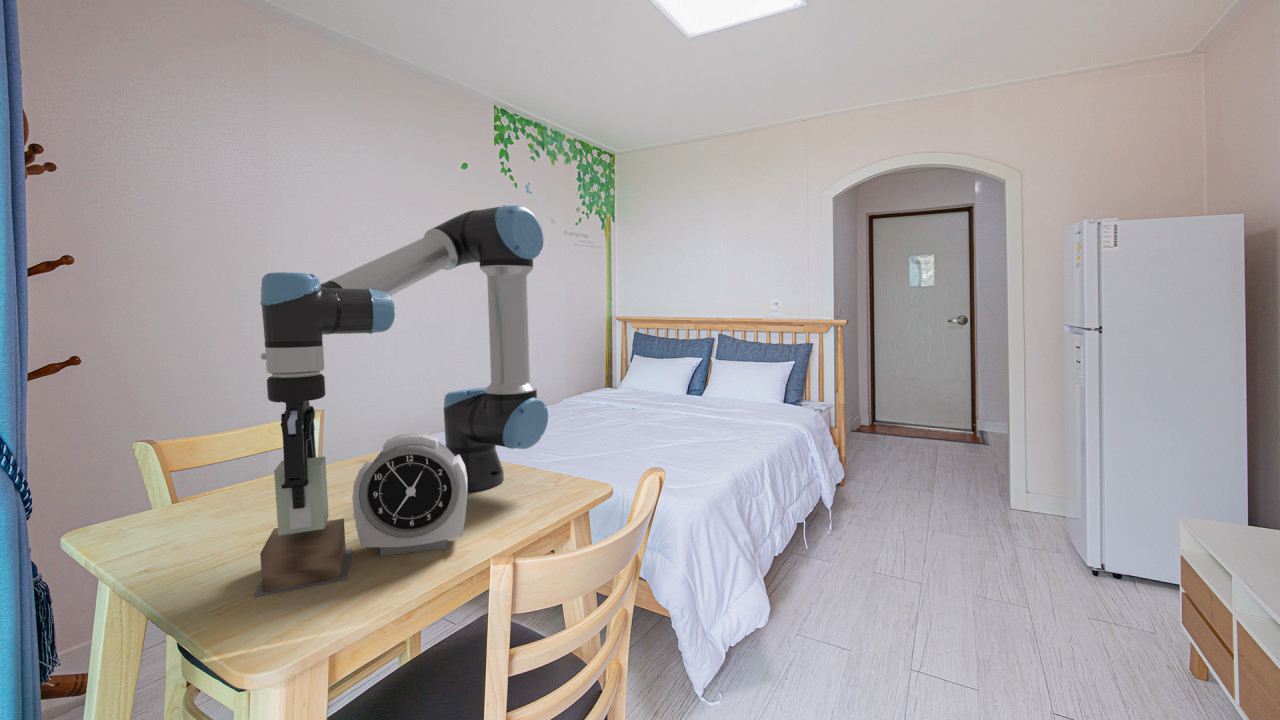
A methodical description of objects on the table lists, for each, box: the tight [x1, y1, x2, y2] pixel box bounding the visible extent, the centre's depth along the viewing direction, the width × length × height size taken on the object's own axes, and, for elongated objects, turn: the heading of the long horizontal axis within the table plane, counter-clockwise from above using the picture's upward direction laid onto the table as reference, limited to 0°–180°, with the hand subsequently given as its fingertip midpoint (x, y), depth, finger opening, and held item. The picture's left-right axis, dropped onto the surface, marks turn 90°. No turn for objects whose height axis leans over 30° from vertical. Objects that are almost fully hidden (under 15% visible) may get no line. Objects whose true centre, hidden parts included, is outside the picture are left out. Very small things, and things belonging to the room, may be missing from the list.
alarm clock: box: [351, 432, 468, 557], centre depth 94 cm, size 18×8×20 cm, turn 106°
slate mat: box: [252, 548, 353, 599], centre depth 85 cm, size 12×12×1 cm
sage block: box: [273, 456, 329, 536], centre depth 84 cm, size 6×6×10 cm
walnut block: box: [260, 518, 347, 593], centre depth 85 cm, size 10×10×6 cm
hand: (304, 519), depth 84 cm, fingers closed on sage block, 6 cm apart
